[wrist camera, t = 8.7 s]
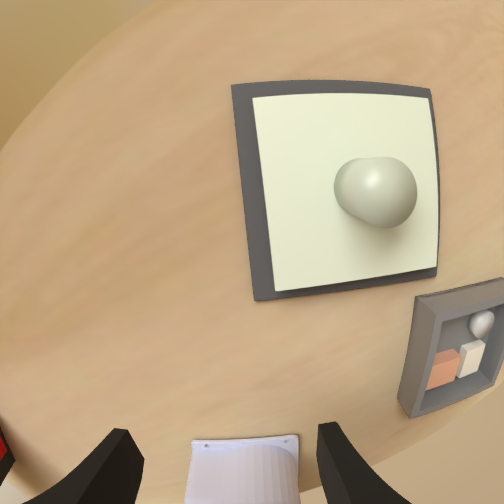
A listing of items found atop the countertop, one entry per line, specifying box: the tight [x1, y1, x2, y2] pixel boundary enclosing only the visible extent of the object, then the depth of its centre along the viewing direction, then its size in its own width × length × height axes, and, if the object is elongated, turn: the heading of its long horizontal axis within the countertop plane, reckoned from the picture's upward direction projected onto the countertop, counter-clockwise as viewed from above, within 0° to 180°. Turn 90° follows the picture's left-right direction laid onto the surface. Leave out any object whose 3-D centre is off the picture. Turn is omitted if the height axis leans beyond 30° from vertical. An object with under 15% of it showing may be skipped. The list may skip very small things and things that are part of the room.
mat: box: [231, 80, 440, 301], centre depth 17 cm, size 13×13×1 cm
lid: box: [252, 93, 438, 291], centre depth 14 cm, size 11×11×5 cm
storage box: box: [397, 277, 504, 419], centre depth 19 cm, size 10×10×3 cm
